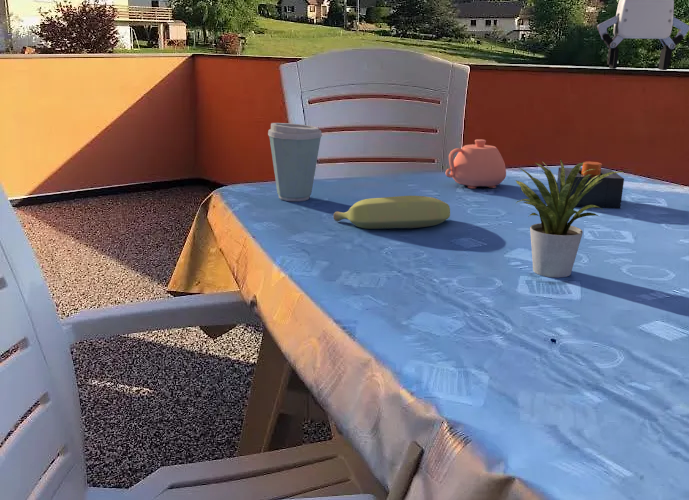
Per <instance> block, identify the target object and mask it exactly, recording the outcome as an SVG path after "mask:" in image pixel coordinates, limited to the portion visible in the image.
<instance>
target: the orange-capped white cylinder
mask: <svg viewBox="0 0 689 500" xmlns="http://www.w3.org/2000/svg"><path fill="white" fill-rule="evenodd" d="M583 162H584V164H583V165H582V166H581V168H582V173H583V172H585V171H586V170H589V169H595V170H589V171H586V172H585V173H583V174H582V175H589V174H592V175H600V174H601V169H602V167H603V166H602V165H603V164H602V163H601V162H598V161H583Z"/></svg>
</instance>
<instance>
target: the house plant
mask: <svg viewBox="0 0 689 500" xmlns="http://www.w3.org/2000/svg"><path fill="white" fill-rule="evenodd" d="M559 160H560V161H559V162H560V168H561V175H560V193H559V189H558V185H557V178H556V177H555V175H554V174H553V172H552V170H551V169H550V168H549V166H547V164H546V163H545V162H543V165H542V164H540V163H537V162H535V165H537V166H538V167H539V168H541V169H542V170H543V171H542V170H541V172H543V173H544V175H545V177H546V179H547V182H548V188H549V190H548V188H547V187H546V185H545V184H544V183H543V182H542V181H541V180H539V179H538V178H536V177H533V176H532V175H531V174H530V173H529V172H528V171H526V170H525V169H523V168H521V167H518V166H516V168H517V169H519V170H521V171H522V172H523V173H525V174H526V175H527V176H528V177H529V178H530V180H531V181H532V182H533V183H534V184H535V186H536V188H537V189H538V190H539V193H540V194H541V195H540V196H541V197H542V199H543V200H544V202H545V203H544V202H543V200H542V199H541V197H540V196H539V195H538V194H537V193H536V192H535V191H534V190H533V189H532V188H530V187H529V185H527V184H526V183H524V182H523V181H519V180H516V179H515V180H514V181H515V182H516V184H517V185H518V186H519V187H520V189H521V191H522V193H523V194H524V195H525V196H526V197H527V198H523V199H520V200H517V201H516V202H515V204H517V203H520V202H523V203H524V204H526V205H530V206H533V207H535V209H536V211H537V212H538V213H536V212H531V214H529V215H528V217H531V216H536V217H537V216H538V217H539V219H540V222H539V223H535V224H534V223H533V224H532V225H530V227H529V233H530V245H531V248H530V249H531V261H532V272H533V273H534V274H537V275H539V276H543V277H547V278H555V279H556V278H566V277H570V276H571V275H572V270H573V268H574V264H575V262H576V257H577V254H578V251H579V247H580V245H581V241H582V238H583V235H584V231H583V229H581V228H579V227H577V226H575V225H572V224H573V223H574V222H575V221H576V220H578V219H580V218H584V217H590V216H591V217H592V216H594V217H595V216H596V217H599V218H601V217H600V215H598V214H596V213H594V212H584V211H587V210H590V209H594V208H595V207H598V206H596V205H588V206H585V207H580V209H579V210H575V208H576V207H575V206H576V205H577V204H578V202H579V201H580V200H581V198H582V197H583V196H584V195H585V194H587V193H588V192H589V191H590V190H591V189H592V188H593V187H594V186H595V185H597V184H598V183H600V182H601V181H600V182H598V181H599V180H601V179H602V178H604V177H606V176H608V175H610V174H613V173H617V174H619V173H622V171H620V170H619V171H618V170H617V171H614V172H609V173H606V174H603V175H601V176H599V175H598V176H599V177H597V176H595V177H597V178H596V179H595V180H593V179H594V178H595V177H593V178H592V179H591V180H590V181H589V182H588V183H587V184H586V185H585V186H584V184H585V182H586V181H587V179H588V178H589V176H591V175H592V174H589V175H586V176H585V177H584V178H583V179H582V180H581V182H580V183H579V185H578V187H577V189H576V191H575V194H573V195H572V196H571V197H570V194H571V193H570V191H571V188H572V185H573V182H574V180H575V178H576V176H577V174H578V172H579V171H580V168H582V166H583V164H584V162H585V161H582V162H579V163H577V164H575V165H574V167H572V168H573V169H572V171H571V172H570V174H569V176H568V178H567V180H566V183H565V170H564V168H565V166H564V165H565V164H564V163H563V160H562V159H561V158H559ZM589 170H595V169H589ZM589 170H586V171H589ZM586 171H585V172H586ZM585 172H583V173H585ZM583 173H582V174H583ZM578 179H579V178H578ZM592 180H593V181H592ZM591 181H592V182H591ZM576 182H577V181H576ZM590 182H591V183H590ZM596 182H598V183H596ZM589 183H590V184H589ZM595 183H596V184H595ZM575 184H576V183H575ZM588 184H589V185H588ZM587 185H588V186H587ZM574 186H575V185H574ZM583 186H584V187H583ZM586 186H587V187H586ZM585 187H586V189H585V190H584V191H583V192H582V194H581V195H580V196H579V197H578V195H579V194H580V192H581V191H582V190H583V189H584V188H585ZM573 188H574V187H573ZM572 190H573V189H572ZM571 192H572V191H571ZM569 197H570V198H569ZM598 209H601V210H602V211H603V212H605V210H604V209H603V208H600V207H598Z"/></svg>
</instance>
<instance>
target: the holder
mask: <svg viewBox="0 0 689 500" xmlns="http://www.w3.org/2000/svg"><path fill="white" fill-rule="evenodd" d="M573 168H574V167H564V170H565V183H566V180H567V178H568V176H569V174H570V172H571V171H572V169H573ZM609 172H615V171H614V170H612V169H609V168H601V174H600V175H599V176H601V175H603V174H606V173H609ZM560 175H561V166H559V167H558V169H557V178H556V182H557V185H558V189H559V193H560ZM585 176H586V175H582V167H581V168H580V171H579V172H578V174H577V176H576V178H575V180H574V182H573V185H572V188H571V191H572V192H571V191H570V193H571V194H570V197H571V196H572V195H573V194H575V191H576V189H577V187H578V185H579V183H580V182H581V180H582V179H583V178H584V177H585ZM595 176H597V177H599V176H598V175H591V176H589V178H588V179H587V181H586V182H585V184H584V186H585V185H586V184H587V183H588V182H589V181H590V180H591V179H592V178H593V177H595ZM597 177H595V178H594V179H593V180H595V179H596V178H597ZM578 178H579V179H578ZM593 180H592V181H593ZM576 181H577V182H576ZM592 181H591V182H592ZM600 181H601V182H600ZM591 182H590V183H591ZM598 182H600V183H598ZM598 182H596V183H598V184H597V185H595V186H594V187H593V188H592V189H591V190H590V191H589V192H588V193H587V194H585V195H584V196H583V197H582V198H581V200H580V201H579V202H578V204H577V205H576V206H575V208H583V207H585V206H588V205H596V206H598V207H600V208H598V207H595V208H596V209H597V208H598V209H601V208H602V209H618V210H620V209H621V206H622V199H623V191H624V184H625V178H624V177H623V176H621V175H620V174H619V173H613V174H610V175H608V176H606V177H604V178H602V179H601V180H599V181H598ZM575 183H576V184H575ZM590 183H589V184H590ZM596 183H595V184H596ZM589 184H588V185H589ZM574 185H575V186H574ZM588 185H587V186H588ZM584 186H583V187H584ZM587 186H586V187H587ZM573 187H574V188H573ZM586 187H585V188H584V189H583V190H582V191H581V192H580V194H579V195H578V197H579V196H580V195H581V194H582V192H583V191H584V190H585V189H586ZM572 189H573V190H572ZM570 197H569V198H570Z"/></svg>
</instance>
